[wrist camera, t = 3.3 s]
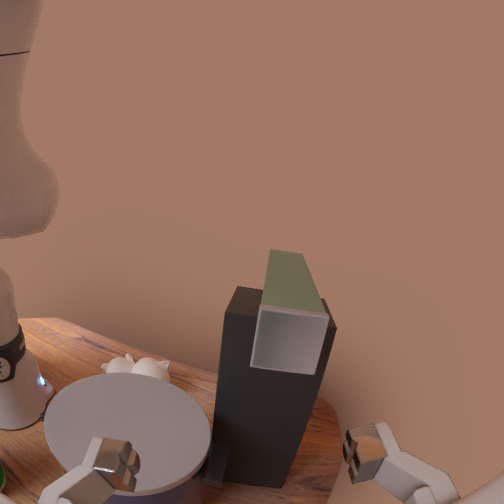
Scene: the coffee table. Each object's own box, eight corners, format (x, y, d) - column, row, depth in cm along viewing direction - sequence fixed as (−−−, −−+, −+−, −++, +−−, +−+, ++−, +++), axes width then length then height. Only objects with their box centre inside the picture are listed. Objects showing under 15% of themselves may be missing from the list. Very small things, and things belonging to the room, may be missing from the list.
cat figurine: (99, 348, 41) (168, 357, 43) (116, 350, 51) (174, 357, 53) (97, 398, 38) (167, 409, 40) (115, 392, 48) (173, 400, 50)
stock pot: (206, 564, 16) (211, 522, 13) (49, 502, 17) (1, 427, 14) (228, 469, 32) (239, 396, 29) (100, 431, 33) (84, 354, 31)
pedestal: (281, 488, 29) (337, 327, 25) (208, 478, 30) (224, 311, 25) (282, 450, 37) (324, 298, 32) (218, 440, 38) (237, 285, 33)
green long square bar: (314, 375, 17) (329, 317, 16) (249, 367, 17) (259, 307, 16) (297, 285, 36) (302, 253, 36) (265, 280, 37) (270, 248, 36)
